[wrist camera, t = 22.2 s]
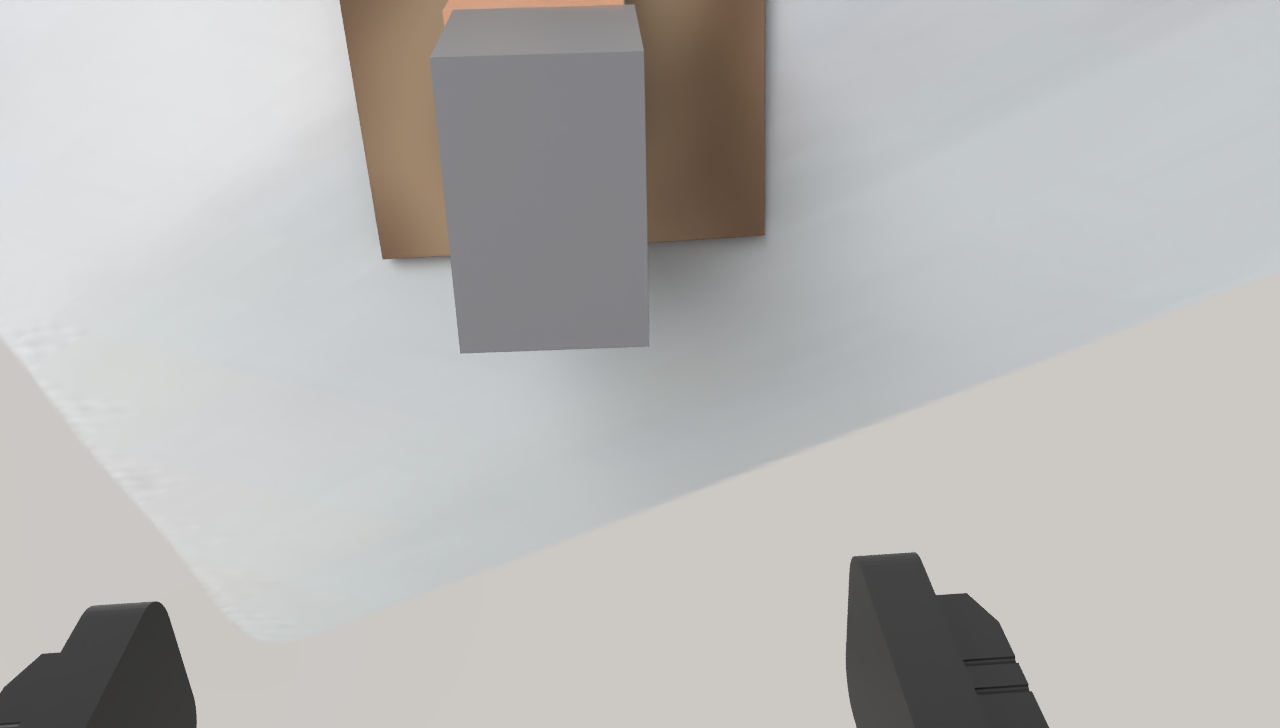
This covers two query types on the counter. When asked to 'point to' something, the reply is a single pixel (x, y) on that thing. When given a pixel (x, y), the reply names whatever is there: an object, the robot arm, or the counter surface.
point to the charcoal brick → (544, 176)
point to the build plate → (674, 118)
